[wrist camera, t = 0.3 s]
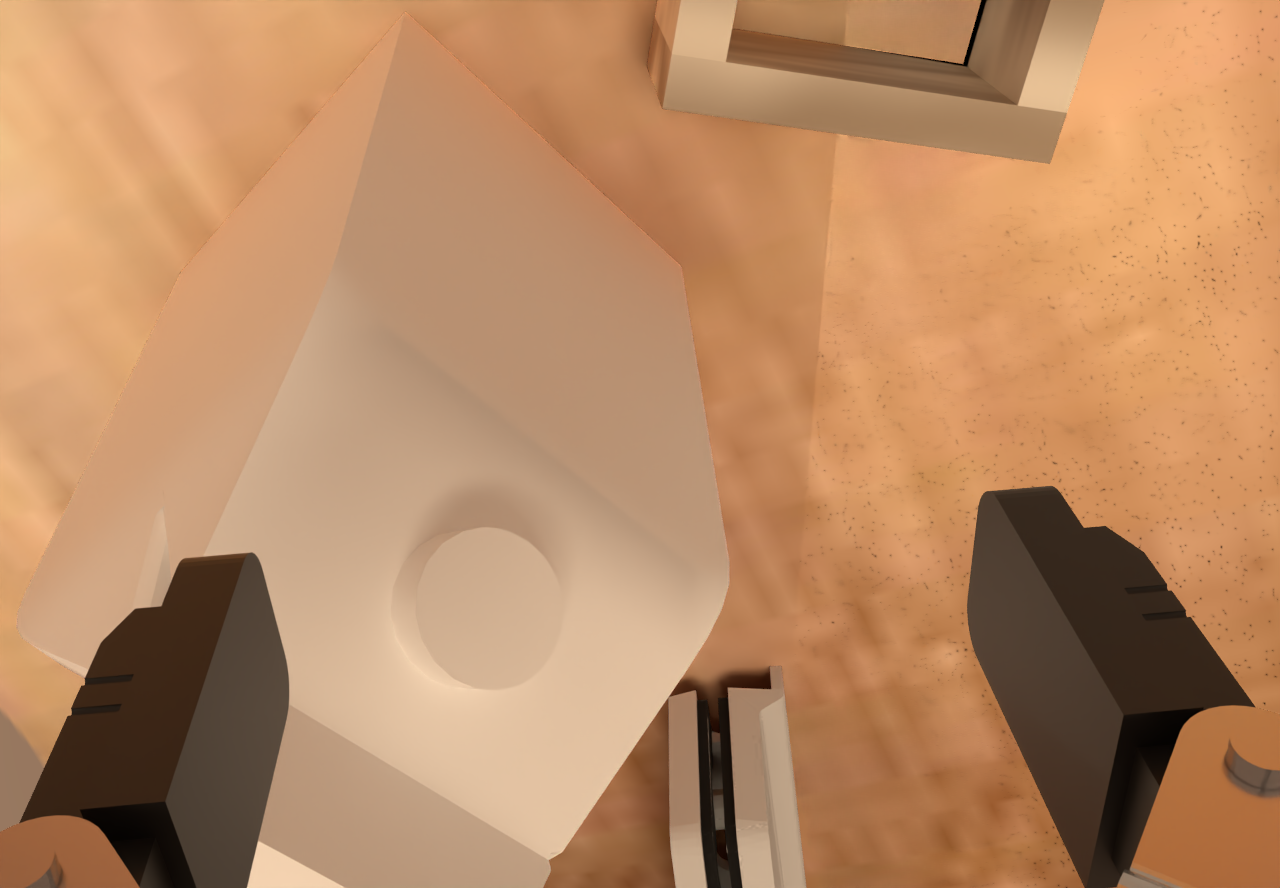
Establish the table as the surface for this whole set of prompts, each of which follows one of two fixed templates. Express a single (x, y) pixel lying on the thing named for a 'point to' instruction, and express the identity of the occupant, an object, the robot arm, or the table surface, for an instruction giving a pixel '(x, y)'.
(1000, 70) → the socket block
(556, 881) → the table surface
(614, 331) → the milk
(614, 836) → the table surface
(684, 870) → the napkin holder
